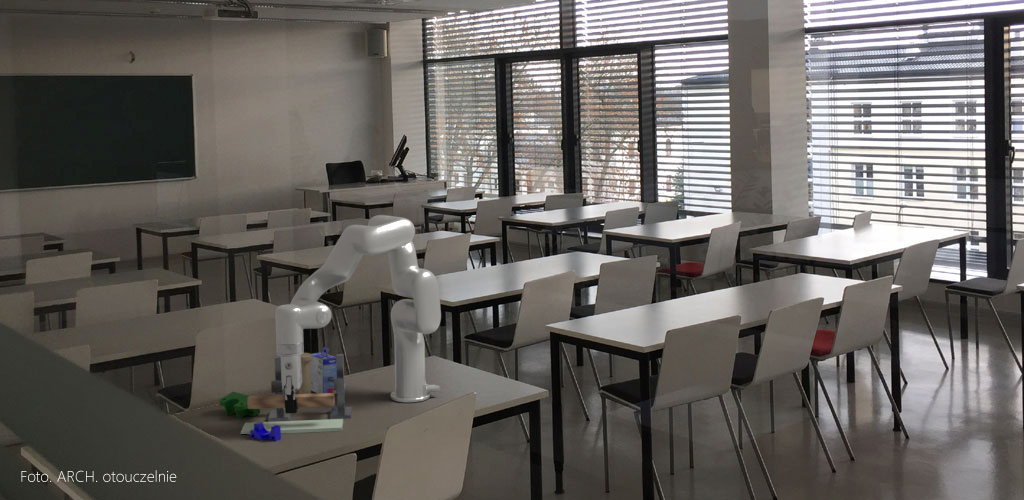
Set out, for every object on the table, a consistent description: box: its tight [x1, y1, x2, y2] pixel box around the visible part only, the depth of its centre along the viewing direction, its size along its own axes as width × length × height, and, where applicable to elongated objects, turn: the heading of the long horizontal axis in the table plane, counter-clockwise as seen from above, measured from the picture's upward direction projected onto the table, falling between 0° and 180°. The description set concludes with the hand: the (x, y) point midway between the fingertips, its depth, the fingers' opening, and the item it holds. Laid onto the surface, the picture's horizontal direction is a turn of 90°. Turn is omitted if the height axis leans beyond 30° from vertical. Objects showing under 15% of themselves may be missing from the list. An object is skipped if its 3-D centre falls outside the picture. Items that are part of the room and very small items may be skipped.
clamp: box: [218, 391, 261, 420], centre depth 283 cm, size 12×6×9 cm, turn 47°
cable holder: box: [249, 421, 282, 442], centre depth 262 cm, size 8×4×4 cm, turn 60°
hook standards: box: [267, 353, 353, 422], centre depth 281 cm, size 24×9×18 cm, turn 97°
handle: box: [298, 352, 313, 394], centre depth 296 cm, size 5×6×15 cm
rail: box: [247, 393, 336, 410], centre depth 270 cm, size 24×3×3 cm, turn 97°
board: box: [240, 418, 344, 435], centre depth 271 cm, size 28×8×1 cm, turn 97°
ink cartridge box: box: [309, 346, 337, 395], centre depth 307 cm, size 10×6×14 cm, turn 38°
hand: (291, 410), depth 270 cm, fingers closed on rail, 3 cm apart
